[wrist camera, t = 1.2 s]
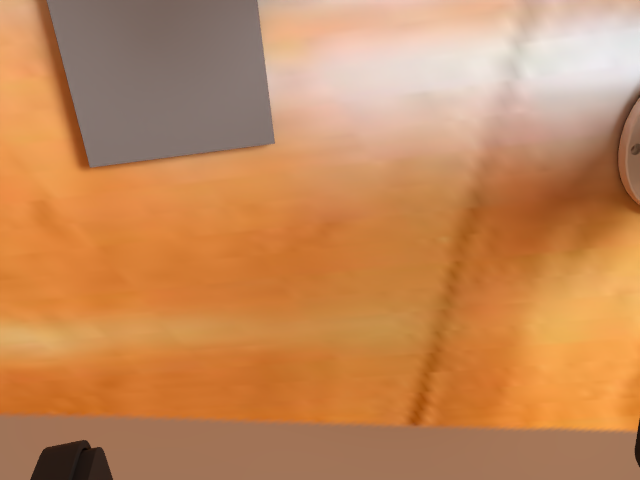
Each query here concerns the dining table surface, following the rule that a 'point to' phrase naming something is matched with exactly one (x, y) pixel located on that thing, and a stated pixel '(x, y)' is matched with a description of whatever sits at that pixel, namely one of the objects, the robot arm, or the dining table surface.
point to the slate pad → (164, 76)
